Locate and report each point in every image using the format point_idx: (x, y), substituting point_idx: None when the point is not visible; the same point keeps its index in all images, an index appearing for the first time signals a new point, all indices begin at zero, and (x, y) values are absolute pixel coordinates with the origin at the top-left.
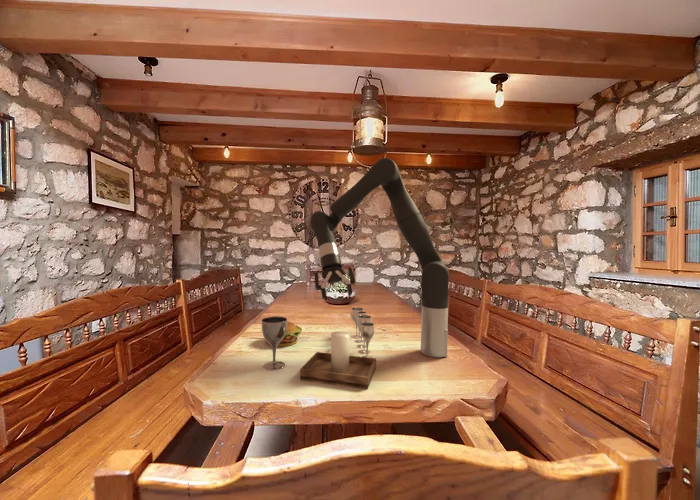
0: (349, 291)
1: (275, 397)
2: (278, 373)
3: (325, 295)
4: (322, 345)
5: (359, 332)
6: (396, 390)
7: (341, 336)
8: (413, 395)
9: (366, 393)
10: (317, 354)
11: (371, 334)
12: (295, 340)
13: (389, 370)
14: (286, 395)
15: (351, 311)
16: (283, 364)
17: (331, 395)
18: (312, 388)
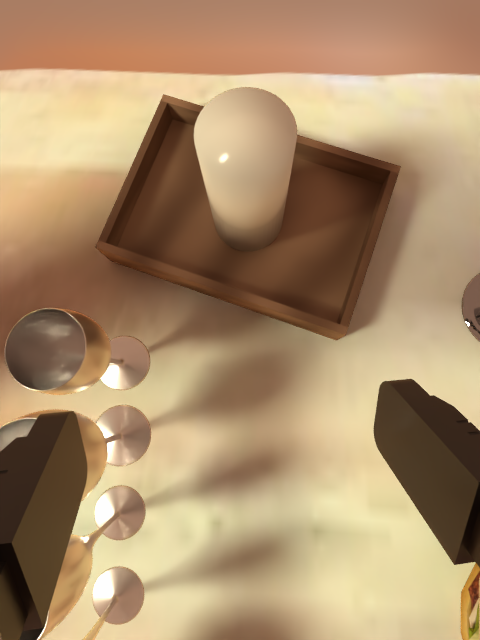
0: (44, 435)
1: (445, 89)
2: (472, 239)
3: (416, 397)
4: (316, 543)
5: (96, 622)
6: (88, 111)
7: (242, 93)
8: (50, 84)
9: (180, 99)
10: (341, 318)
11: (57, 319)
12: (473, 579)
13: (66, 242)
14: (414, 98)
15: None
16: (471, 309)
17: (282, 93)
18: (340, 132)
